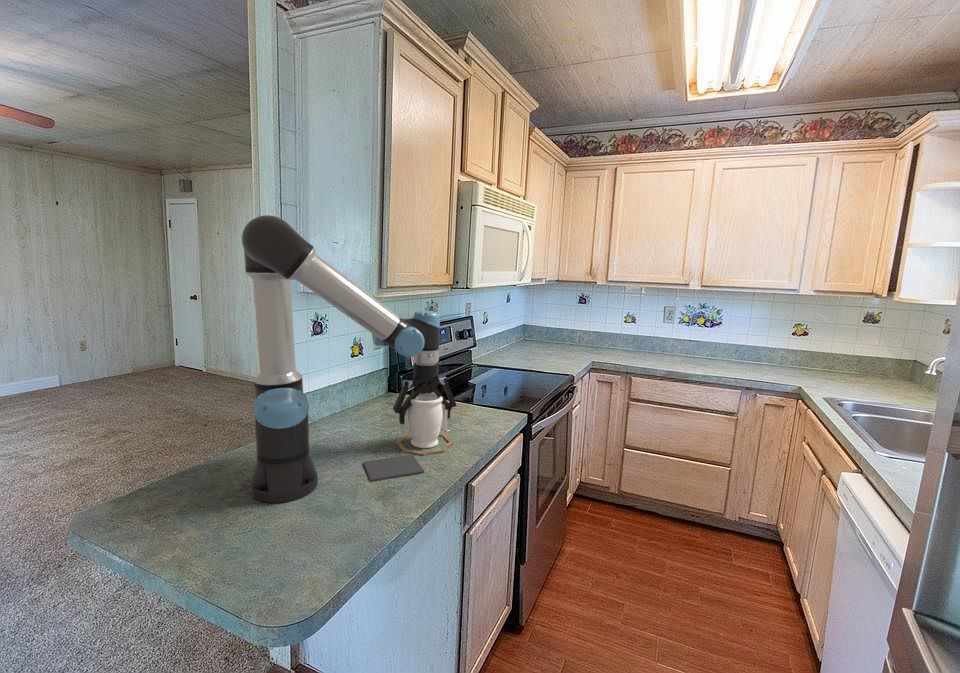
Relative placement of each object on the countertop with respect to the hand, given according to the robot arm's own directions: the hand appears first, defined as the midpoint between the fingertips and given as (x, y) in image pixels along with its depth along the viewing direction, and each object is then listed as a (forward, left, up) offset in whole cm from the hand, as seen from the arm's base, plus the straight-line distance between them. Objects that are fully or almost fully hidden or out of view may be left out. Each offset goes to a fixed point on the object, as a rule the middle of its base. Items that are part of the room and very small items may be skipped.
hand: (424, 431), depth 139 cm
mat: (-13, -13, -4) cm, 19 cm away
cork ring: (0, 0, -4) cm, 4 cm away
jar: (0, 0, -4) cm, 4 cm away
